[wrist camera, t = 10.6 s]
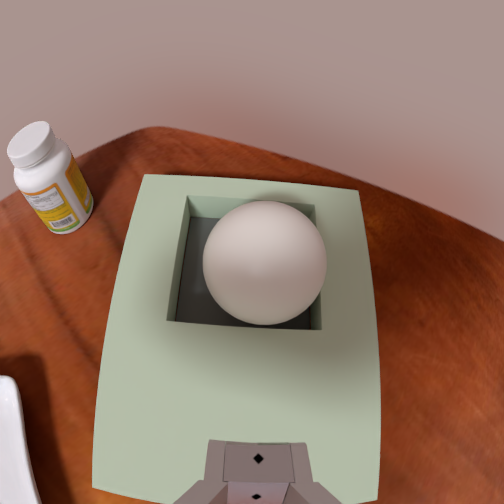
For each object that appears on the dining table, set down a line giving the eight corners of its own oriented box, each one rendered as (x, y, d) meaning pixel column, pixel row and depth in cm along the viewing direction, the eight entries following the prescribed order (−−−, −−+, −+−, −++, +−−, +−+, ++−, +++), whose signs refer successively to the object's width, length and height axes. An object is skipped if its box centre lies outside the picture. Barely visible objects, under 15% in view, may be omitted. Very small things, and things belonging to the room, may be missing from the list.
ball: (353, 309, 21) (262, 317, 26) (335, 195, 22) (249, 221, 27) (291, 335, 15) (186, 335, 20) (267, 172, 16) (171, 213, 21)
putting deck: (347, 210, 29) (358, 190, 26) (360, 491, 17) (377, 499, 14) (150, 196, 28) (144, 174, 25) (108, 479, 16) (92, 487, 14)
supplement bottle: (72, 182, 28) (37, 109, 20) (105, 202, 27) (71, 123, 19) (37, 220, 26) (-10, 152, 17) (67, 245, 25) (16, 174, 16)
